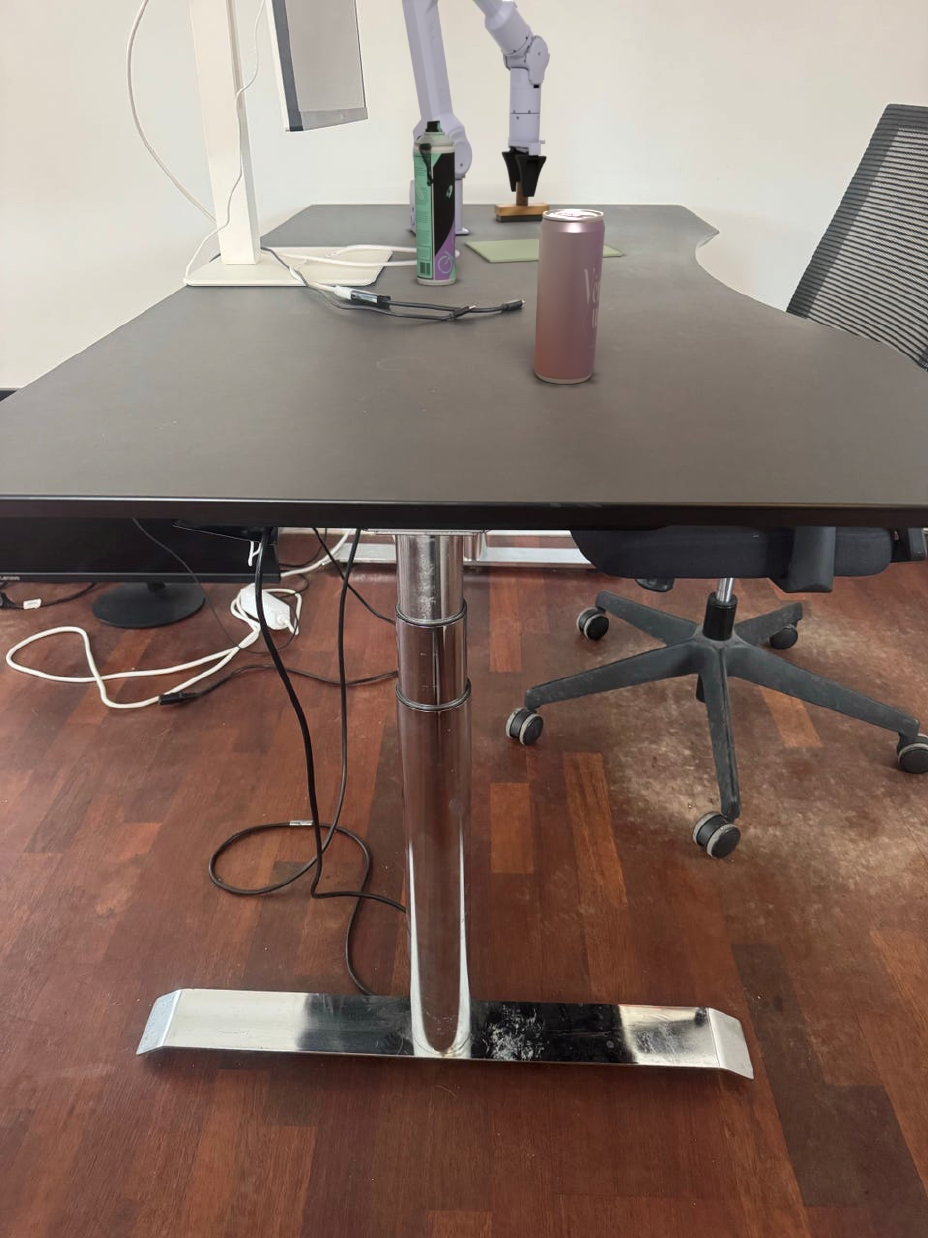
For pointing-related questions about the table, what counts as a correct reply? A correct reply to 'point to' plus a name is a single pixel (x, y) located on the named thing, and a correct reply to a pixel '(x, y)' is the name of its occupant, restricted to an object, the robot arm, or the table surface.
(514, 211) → the brush
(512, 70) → the robot arm
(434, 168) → the spray can
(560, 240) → the beverage can
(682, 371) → the table surface
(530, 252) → the mat
